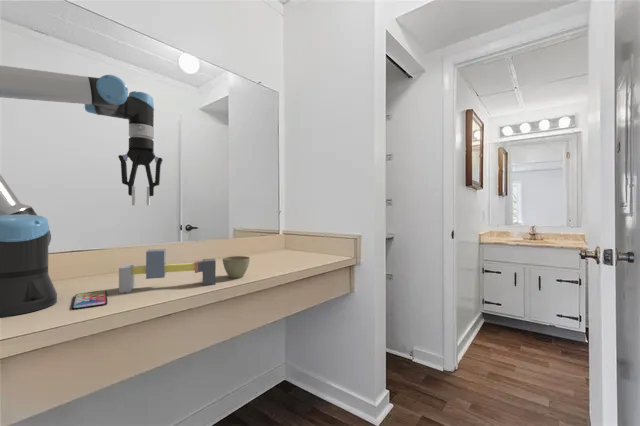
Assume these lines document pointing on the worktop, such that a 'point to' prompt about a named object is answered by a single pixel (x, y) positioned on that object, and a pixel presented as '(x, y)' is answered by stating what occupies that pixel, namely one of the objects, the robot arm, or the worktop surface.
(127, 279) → the rail
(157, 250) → the sleeve
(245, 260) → the flower pot
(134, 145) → the robot arm
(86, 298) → the smartphone
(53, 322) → the worktop surface
